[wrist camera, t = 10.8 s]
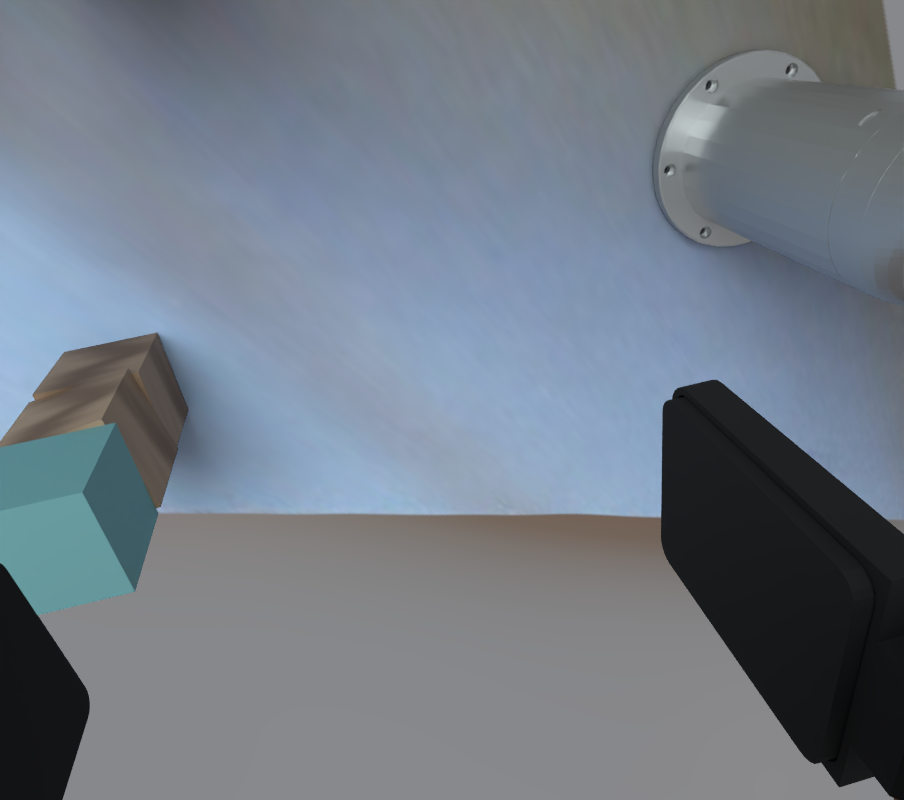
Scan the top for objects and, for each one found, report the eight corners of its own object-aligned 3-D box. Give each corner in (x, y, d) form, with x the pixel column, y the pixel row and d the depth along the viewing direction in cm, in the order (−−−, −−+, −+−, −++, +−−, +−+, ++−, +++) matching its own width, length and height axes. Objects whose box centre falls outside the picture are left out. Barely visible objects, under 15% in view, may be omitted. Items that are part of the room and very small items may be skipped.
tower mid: (127, 368, 39) (101, 419, 34) (177, 448, 42) (160, 506, 37) (28, 402, 39) (-14, 459, 33) (86, 480, 42) (56, 543, 36)
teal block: (115, 422, 34) (82, 492, 29) (158, 513, 37) (134, 591, 32) (-8, 449, 33) (-65, 525, 28) (46, 539, 36) (3, 623, 31)
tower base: (157, 332, 44) (137, 372, 39) (188, 409, 47) (174, 455, 42) (64, 352, 44) (32, 394, 38) (101, 428, 47) (76, 477, 41)
